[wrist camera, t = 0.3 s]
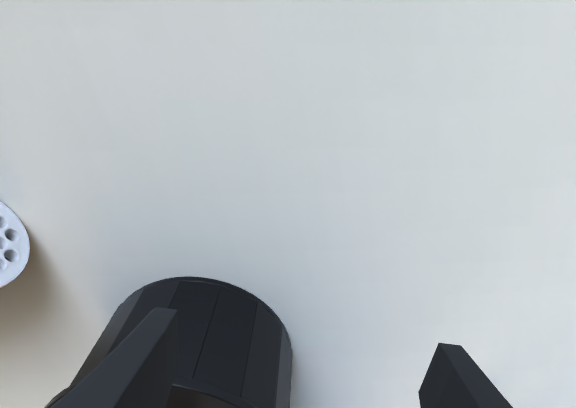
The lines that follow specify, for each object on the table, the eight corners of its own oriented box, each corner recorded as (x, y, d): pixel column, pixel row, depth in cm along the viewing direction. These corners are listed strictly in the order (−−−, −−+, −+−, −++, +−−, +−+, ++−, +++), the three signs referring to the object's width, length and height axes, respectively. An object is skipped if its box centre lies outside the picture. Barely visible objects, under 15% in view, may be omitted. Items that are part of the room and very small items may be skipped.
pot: (281, 414, 28) (272, 531, 22) (120, 395, 28) (67, 506, 22) (302, 289, 23) (299, 397, 17) (104, 264, 23) (27, 364, 17)
